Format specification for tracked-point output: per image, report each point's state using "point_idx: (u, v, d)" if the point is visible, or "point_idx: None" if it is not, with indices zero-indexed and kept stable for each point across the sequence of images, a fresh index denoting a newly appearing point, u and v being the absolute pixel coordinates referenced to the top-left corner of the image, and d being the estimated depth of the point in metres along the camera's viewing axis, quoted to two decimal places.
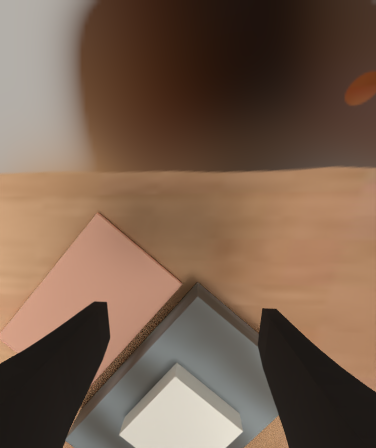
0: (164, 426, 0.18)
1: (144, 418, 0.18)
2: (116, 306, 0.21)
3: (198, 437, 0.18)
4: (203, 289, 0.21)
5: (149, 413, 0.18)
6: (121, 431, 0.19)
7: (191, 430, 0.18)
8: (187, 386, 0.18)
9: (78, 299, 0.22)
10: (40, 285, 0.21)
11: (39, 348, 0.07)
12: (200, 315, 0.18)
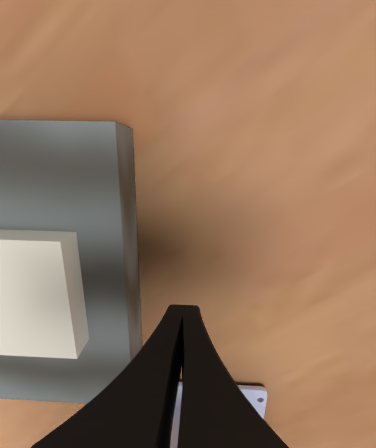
0: None
1: None
2: None
3: (25, 290, 0.12)
4: None
5: None
6: None
7: (9, 289, 0.12)
8: None
9: None
10: None
11: (151, 353, 0.07)
12: None
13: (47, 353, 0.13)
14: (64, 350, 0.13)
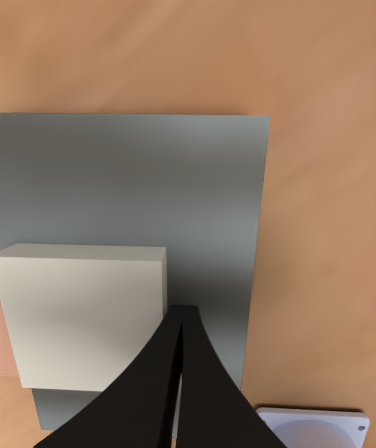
0: (56, 337, 0.10)
1: (23, 345, 0.11)
2: None
3: (111, 318, 0.10)
4: None
5: (20, 334, 0.10)
6: (22, 381, 0.11)
7: (93, 316, 0.10)
8: (19, 257, 0.09)
9: None
10: None
11: (152, 353, 0.07)
12: (1, 141, 0.09)
13: None
14: None
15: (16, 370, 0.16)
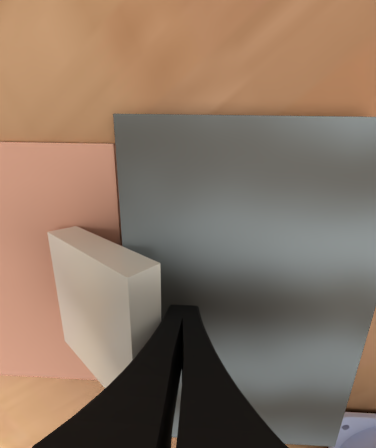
0: (75, 313, 0.12)
1: (63, 308, 0.13)
2: None
3: (99, 317, 0.10)
4: None
5: (61, 299, 0.13)
6: None
7: (90, 308, 0.10)
8: (57, 237, 0.11)
9: (21, 271, 0.14)
10: None
11: (151, 353, 0.07)
12: (145, 143, 0.09)
13: None
14: None
15: None
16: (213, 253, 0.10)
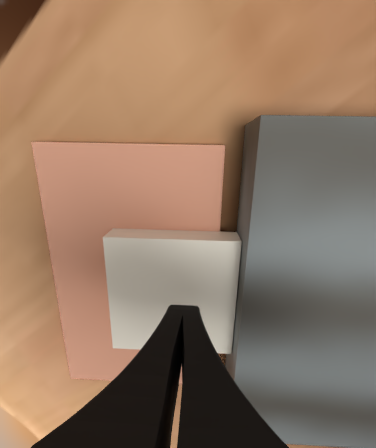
0: (148, 304, 0.13)
1: (119, 311, 0.13)
2: None
3: (195, 289, 0.12)
4: None
5: (118, 302, 0.13)
6: None
7: (180, 287, 0.12)
8: (127, 237, 0.12)
9: None
10: (58, 291, 0.14)
11: (151, 353, 0.07)
12: (289, 145, 0.09)
13: None
14: (220, 346, 0.13)
15: None
16: (341, 257, 0.10)
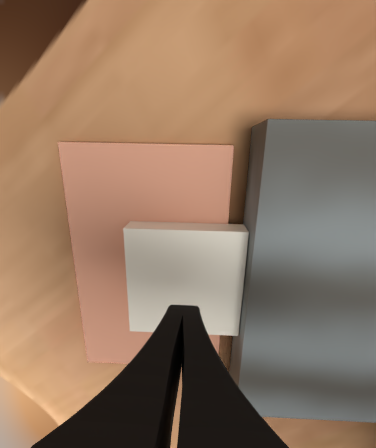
0: (162, 290, 0.14)
1: (137, 297, 0.14)
2: None
3: (206, 275, 0.14)
4: None
5: (136, 288, 0.14)
6: (130, 326, 0.15)
7: (193, 274, 0.14)
8: (145, 228, 0.13)
9: None
10: (78, 279, 0.16)
11: (151, 353, 0.07)
12: (292, 145, 0.10)
13: (212, 331, 0.15)
14: (228, 328, 0.15)
15: None
16: (338, 245, 0.12)
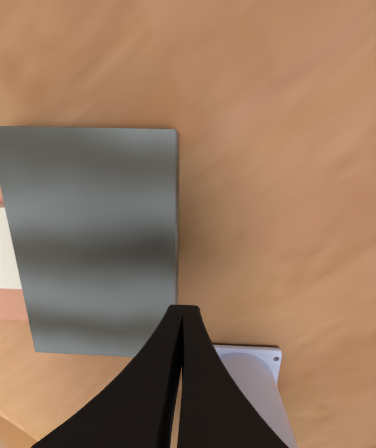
0: None
1: None
2: None
3: None
4: None
5: None
6: None
7: None
8: None
9: None
10: None
11: (151, 353, 0.07)
12: (9, 143, 0.15)
13: (12, 286, 0.19)
14: None
15: (17, 315, 0.22)
16: (64, 215, 0.16)
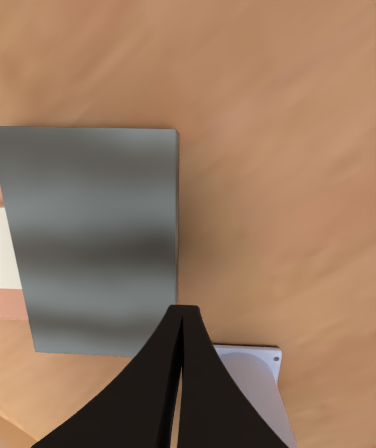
0: None
1: None
2: None
3: None
4: None
5: None
6: None
7: None
8: None
9: None
10: None
11: (151, 353, 0.07)
12: (9, 143, 0.15)
13: (12, 286, 0.19)
14: None
15: (17, 315, 0.22)
16: (64, 215, 0.16)
